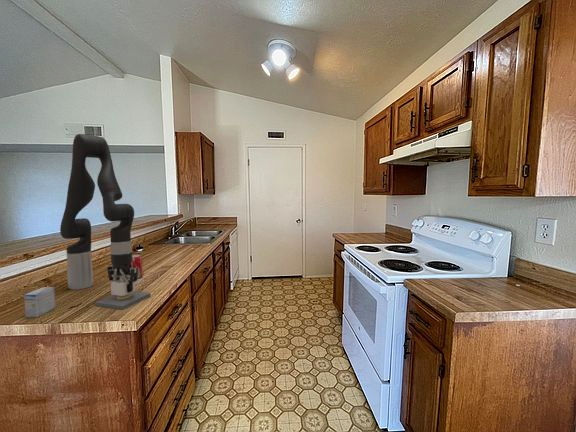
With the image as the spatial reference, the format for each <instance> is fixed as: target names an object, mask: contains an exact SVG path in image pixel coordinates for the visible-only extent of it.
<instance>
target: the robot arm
mask: <svg viewBox="0 0 576 432" xmlns="http://www.w3.org/2000/svg"><path fill="white" fill-rule="evenodd" d="M71 155H72V156H71V157H72V158H71V161H72V162H71V169H70V174H69V175H70V177H69V181H68V186H67V192H66V193H67V194H66V201H65V208H64V211H63V215H62V219H61V222H60V228H59V229H60V230H59V232H60V235H61V237H62V238H63V239H65V240H70V239H71V240H72V239H73V240H74V239H78V241H76V242H75V243H73V244H70V245H69V246H67V247H66V262H67V268H66V279H67V288H69V290H72V291H75V290H83V289H86V288H90V287H92V286H93V285H94V275H93V273H94V272H93V261H92V260H93V259H92V256H93V255H92V225H91V222H90V219H89V218H83V217H82V218H77V216H78V214H79V213H80V212H81V211H82V210H83V209H85V207H87V205H89V203H91V202H92V200H93V198H94V196H95V195H94V194H95V191H96V190H95V188H96V184H95V181H94V179H93V178H92V176H91V174H90V173H89V171H88V169H87V167H86V160H87V158H93V159H99V161H100V164H101V167H100V170H99V172H98V176H97V181H96V183H97V187H98V189H99V192H100V195H101V197H102V208H103V209H102V210H103V216H104V218H105V219H106V220H107V221H109V222H112V223H113V222H119V225H117V226H114V227H112V228H111V229H109V230H110V232H109V234H110V247H109V249H110V264H111V265H109V266H107V268H106V270H107V276H108V280H109V281H111V282H114V281H117V280H120V279H121V278H123V279H125V281H126V283H127V292H128V293H129V292H132V290H133V282H135V283H136V282H137V281H138V279H137V275H138V268H132V266H131V262H132V261H133V259H132V255H133V245H132V241H131V240H132V235H131V231H132V226H133V222H134V219H135V209H134V207H133V206H132V204H129V203H116V202H117V201H120V200H121V199H122V198H123V193H122V190H121V187H120V186H119V183H118V180H117V177H116V174H115V170H114V165H113V160H112V155H111V152H110V147H109V144H108V142H107V141H106V139H105V138H104V137H103V136H98V135H92V134H84V133H77V134H76V135H75V136H74V138H73V142H72V154H71ZM128 274H129V276H128ZM133 278H134V279H133ZM129 279H130V280H129Z"/></svg>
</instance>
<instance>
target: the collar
mask: <svg viewBox="0 0 576 432" xmlns="http://www.w3.org/2000/svg"><path fill="white" fill-rule="evenodd" d="M128 279H129V278H128ZM120 280H121V278H120ZM120 280H117V281H114V282H113V281H111V282H110V292H111V293H110V295H111V296H112V295H120V296H124V295H126V294H129V293H131V292H129V293H128V292H127V283H126V282H123V283H121V282H120ZM129 280H130V279H129ZM135 283H136V281H135V282H133V290H132V292H133V291H136V284H135Z"/></svg>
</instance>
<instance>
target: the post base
mask: <svg viewBox="0 0 576 432" xmlns="http://www.w3.org/2000/svg"><path fill="white" fill-rule="evenodd" d="M120 279H121V280H120V282H121V283H123V282H126V281H125V279H123V277H121V278H120ZM150 297H151V292H144V291H138V290H137V291H136V290H135V291H133V292H131V293H129V294H126V295H124V296H120V295H112V294H111V295H109V296H106V297H104V298H102V299H100V300H98V301H95V302H94V304H95V307H99V308H100V307H101V308H107V309H113V310H121V311H124V310H126V309H128V308H130V307H132V306H135V305H136V304H139V303H140V302H142V301H144V300H146V299H148V298H150Z"/></svg>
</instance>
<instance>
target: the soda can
mask: <svg viewBox="0 0 576 432" xmlns="http://www.w3.org/2000/svg"><path fill="white" fill-rule="evenodd" d="M132 259H133V261H132V262H131V266H132V268H138V275H137V280H138V279H140V278H141V277H143V273H144V272H143V258H142V256H141V254H132ZM127 276H129V274H128V275H127ZM133 279H134V278H133Z"/></svg>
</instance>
